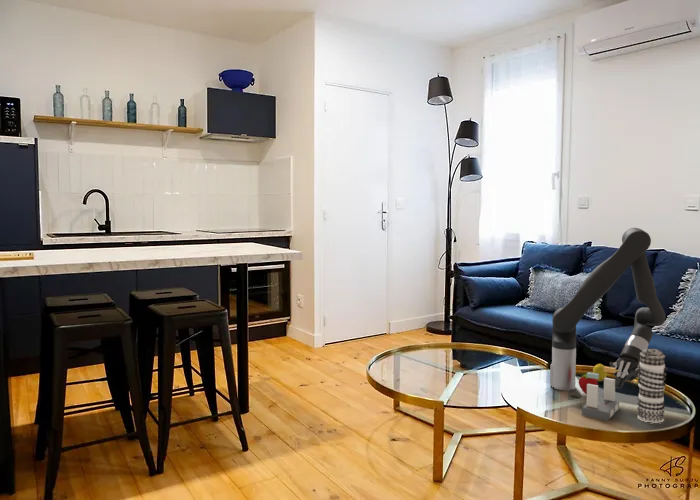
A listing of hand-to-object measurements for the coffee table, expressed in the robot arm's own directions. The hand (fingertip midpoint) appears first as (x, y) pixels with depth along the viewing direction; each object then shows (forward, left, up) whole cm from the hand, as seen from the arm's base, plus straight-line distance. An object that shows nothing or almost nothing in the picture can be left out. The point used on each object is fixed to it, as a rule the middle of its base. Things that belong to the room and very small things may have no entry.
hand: (617, 387), depth 214 cm
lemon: (-13, +26, -8) cm, 30 cm away
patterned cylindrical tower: (+13, -6, -8) cm, 16 cm away
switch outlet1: (-5, -14, -4) cm, 16 cm away
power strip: (-3, -7, -7) cm, 11 cm away
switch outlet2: (-2, -4, -4) cm, 6 cm away
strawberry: (-12, +6, -8) cm, 16 cm away
